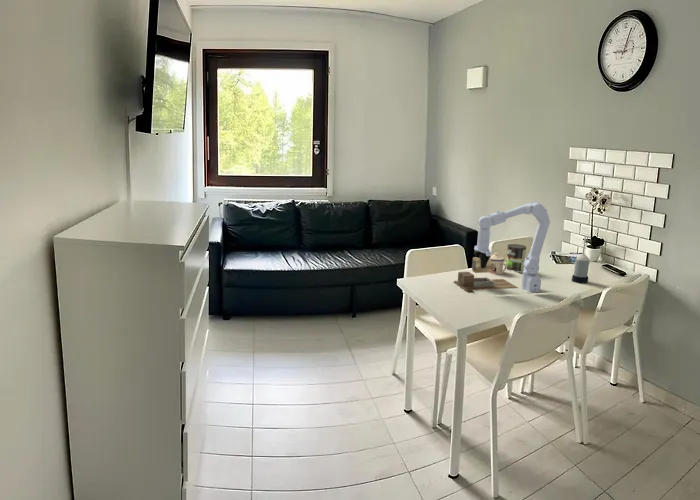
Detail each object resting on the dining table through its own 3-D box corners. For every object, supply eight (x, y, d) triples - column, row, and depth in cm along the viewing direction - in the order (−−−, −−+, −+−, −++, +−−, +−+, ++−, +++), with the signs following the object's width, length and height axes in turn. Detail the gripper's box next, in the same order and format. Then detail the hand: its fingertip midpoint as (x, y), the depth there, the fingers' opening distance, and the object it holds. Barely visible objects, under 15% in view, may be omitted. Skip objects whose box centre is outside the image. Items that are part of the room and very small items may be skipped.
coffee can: (513, 273, 305) (516, 248, 302) (501, 268, 314) (503, 244, 311) (527, 271, 309) (530, 247, 306) (515, 267, 318) (517, 243, 315)
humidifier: (579, 278, 297) (585, 233, 292) (591, 282, 290) (597, 237, 284) (568, 279, 294) (573, 234, 289) (579, 284, 287) (585, 237, 281)
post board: (518, 289, 273) (519, 276, 272) (466, 292, 267) (468, 278, 266) (502, 280, 289) (504, 268, 287) (453, 282, 282) (454, 269, 281)
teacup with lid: (482, 272, 304) (484, 252, 301) (493, 270, 309) (495, 250, 306) (499, 277, 294) (501, 256, 292) (510, 275, 300) (512, 255, 297)
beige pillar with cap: (490, 272, 274) (491, 258, 273) (474, 272, 272) (475, 259, 271) (486, 270, 278) (487, 257, 277) (471, 270, 276) (472, 257, 275)
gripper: (469, 237, 278) (467, 263, 281) (482, 243, 264) (480, 270, 267) (482, 237, 279) (480, 262, 282) (495, 243, 265) (493, 270, 269)
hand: (481, 266), depth 275 cm, fingers closed on beige pillar with cap, 4 cm apart
